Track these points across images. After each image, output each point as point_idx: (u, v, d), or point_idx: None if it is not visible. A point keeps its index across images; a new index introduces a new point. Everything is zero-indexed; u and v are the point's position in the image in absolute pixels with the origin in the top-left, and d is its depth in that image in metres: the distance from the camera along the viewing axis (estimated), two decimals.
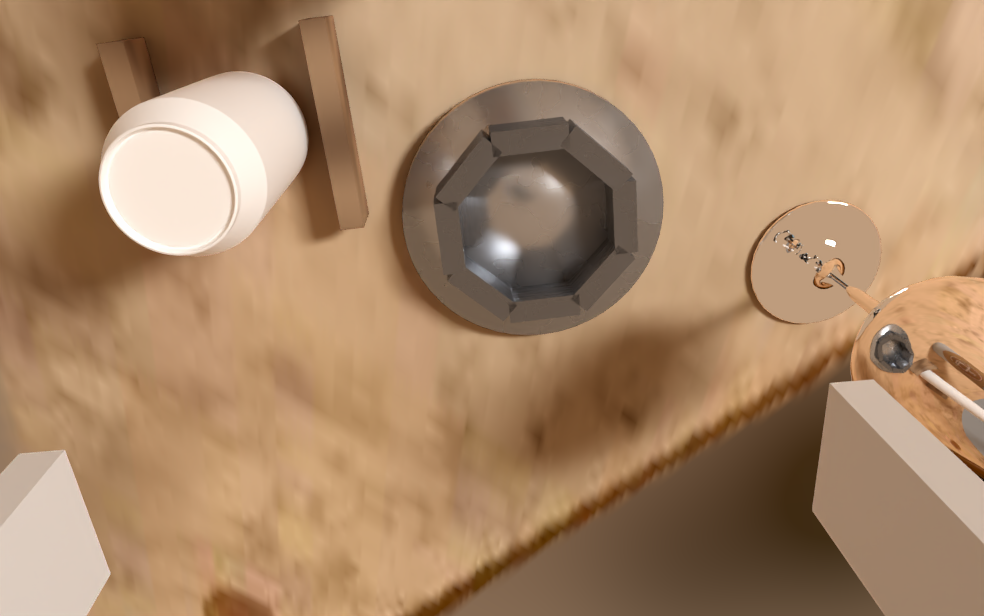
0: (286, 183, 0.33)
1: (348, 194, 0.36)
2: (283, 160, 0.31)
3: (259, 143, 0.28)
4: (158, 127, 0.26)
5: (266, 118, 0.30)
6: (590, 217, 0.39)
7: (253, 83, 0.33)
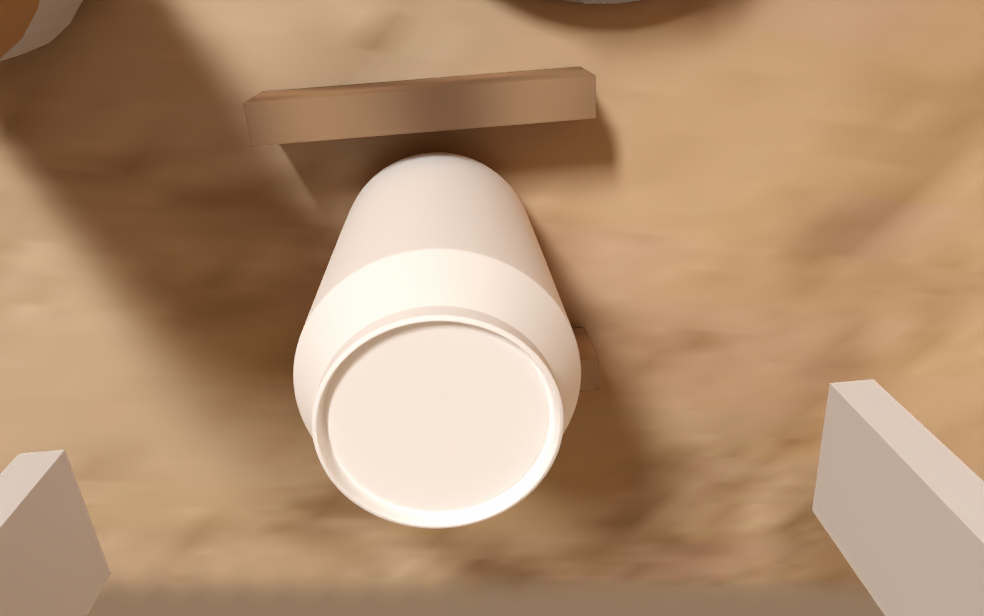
0: (489, 202, 0.19)
1: (533, 96, 0.21)
2: (438, 205, 0.17)
3: (379, 248, 0.15)
4: (322, 425, 0.14)
5: (367, 224, 0.18)
6: None
7: (342, 228, 0.21)
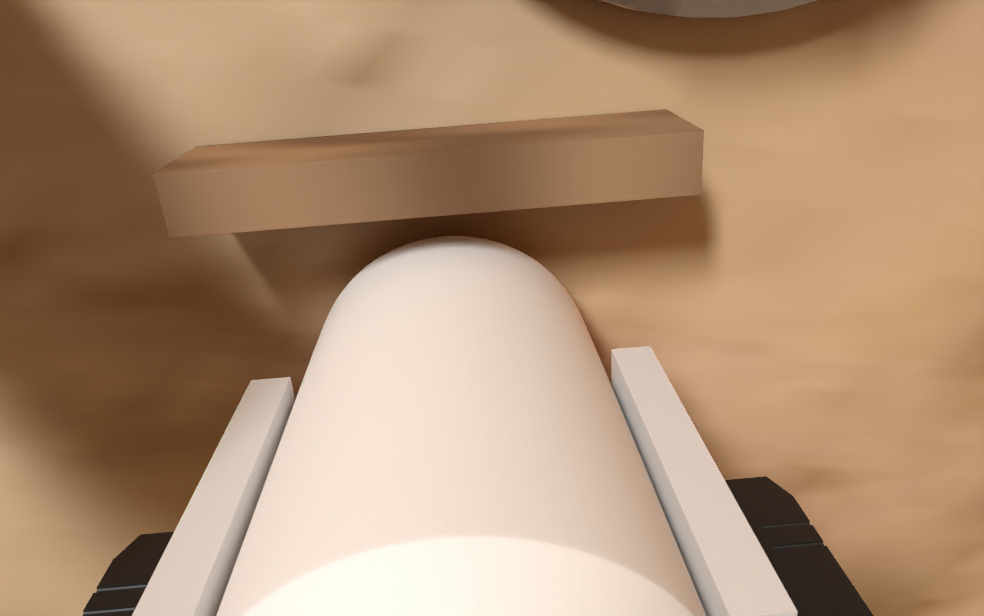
0: (544, 353, 0.11)
1: (605, 162, 0.13)
2: (461, 376, 0.10)
3: (349, 511, 0.08)
4: None
5: (337, 405, 0.10)
6: None
7: (308, 366, 0.14)
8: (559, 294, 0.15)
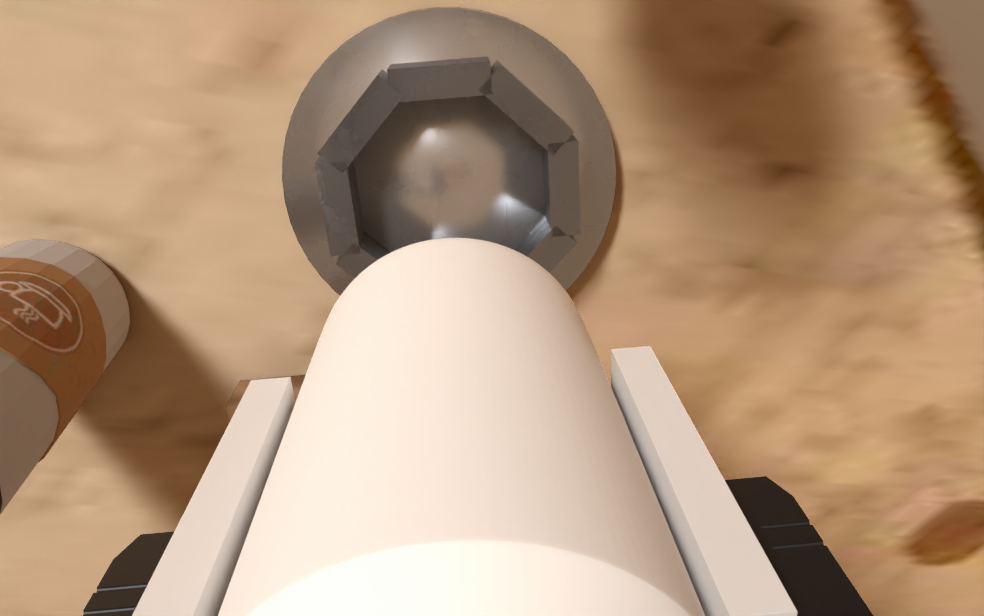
0: (545, 355, 0.11)
1: None
2: (461, 379, 0.10)
3: (350, 515, 0.08)
4: None
5: (337, 407, 0.10)
6: (453, 113, 0.29)
7: (308, 368, 0.14)
8: (559, 296, 0.15)
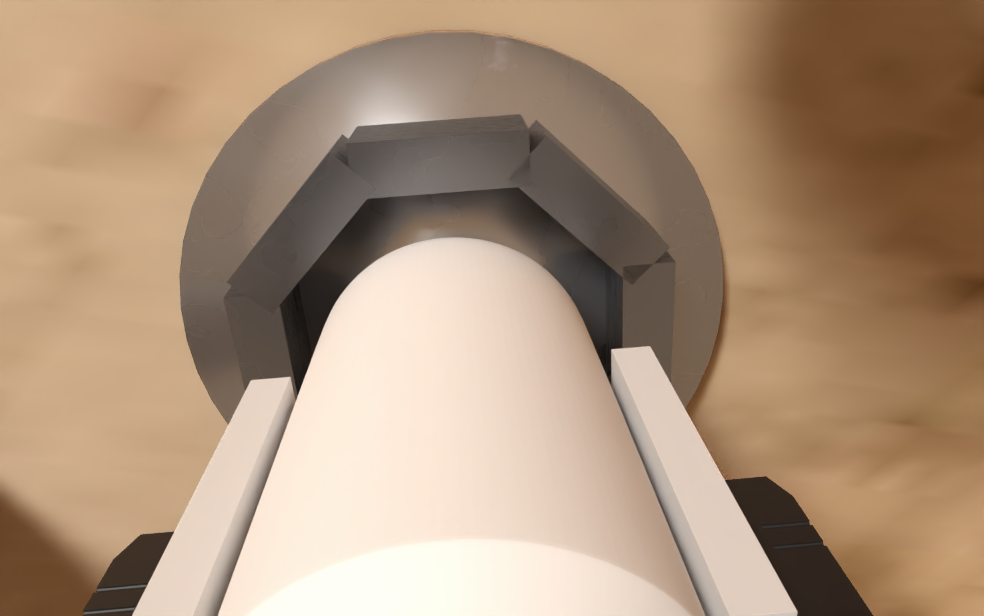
0: (545, 354, 0.11)
1: None
2: (461, 378, 0.10)
3: (349, 515, 0.08)
4: None
5: (337, 406, 0.10)
6: (461, 205, 0.18)
7: (308, 367, 0.14)
8: (559, 295, 0.15)
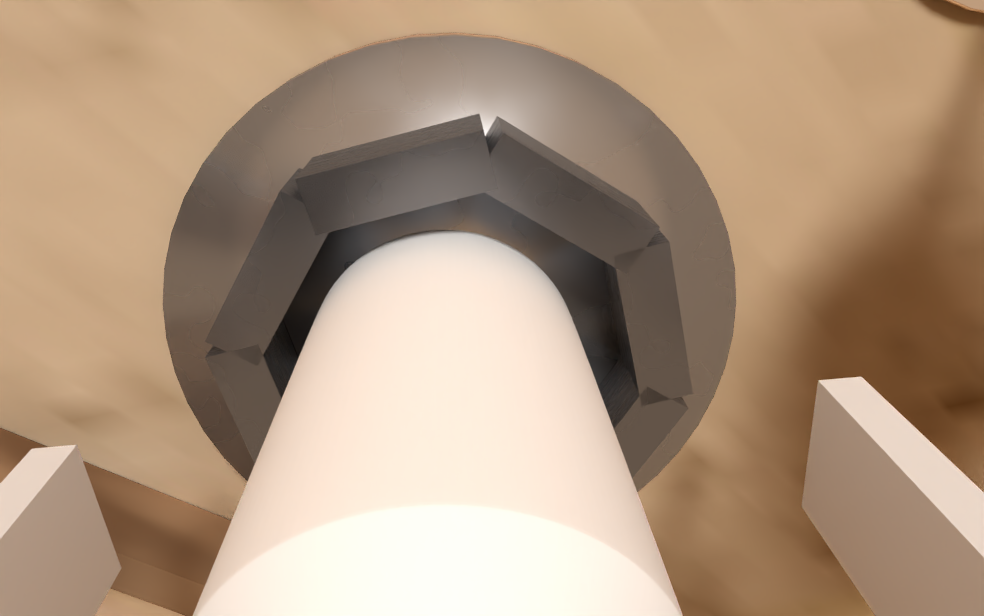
0: (525, 339, 0.12)
1: (185, 591, 0.19)
2: (442, 360, 0.10)
3: (329, 484, 0.08)
4: None
5: (323, 388, 0.11)
6: (533, 243, 0.17)
7: None
8: (544, 286, 0.15)
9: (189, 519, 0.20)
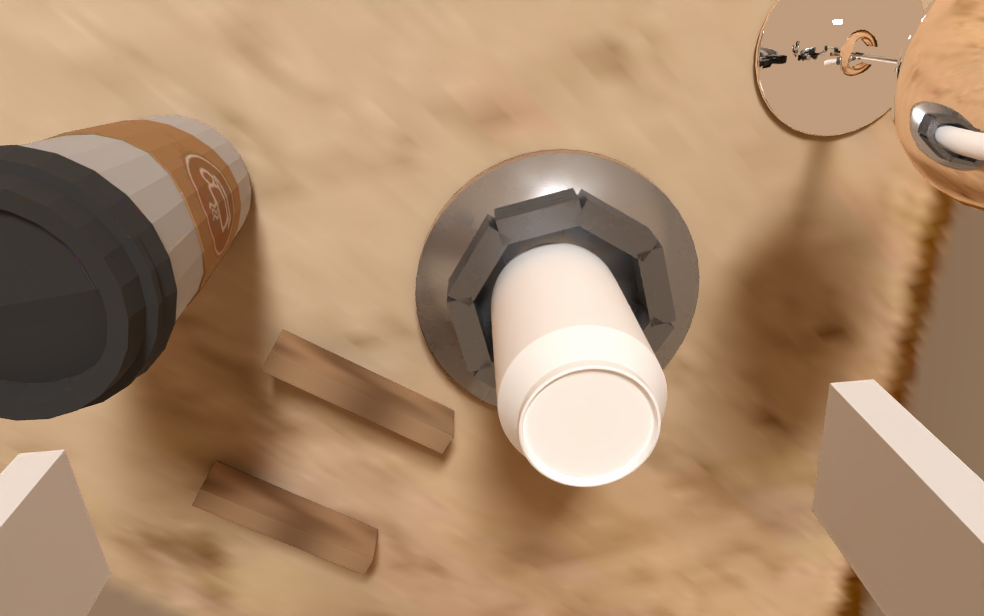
0: (602, 286, 0.29)
1: (418, 428, 0.37)
2: (575, 291, 0.28)
3: (549, 323, 0.26)
4: (523, 426, 0.25)
5: (530, 302, 0.28)
6: (597, 248, 0.35)
7: (499, 298, 0.32)
8: (605, 267, 0.33)
9: (412, 396, 0.38)
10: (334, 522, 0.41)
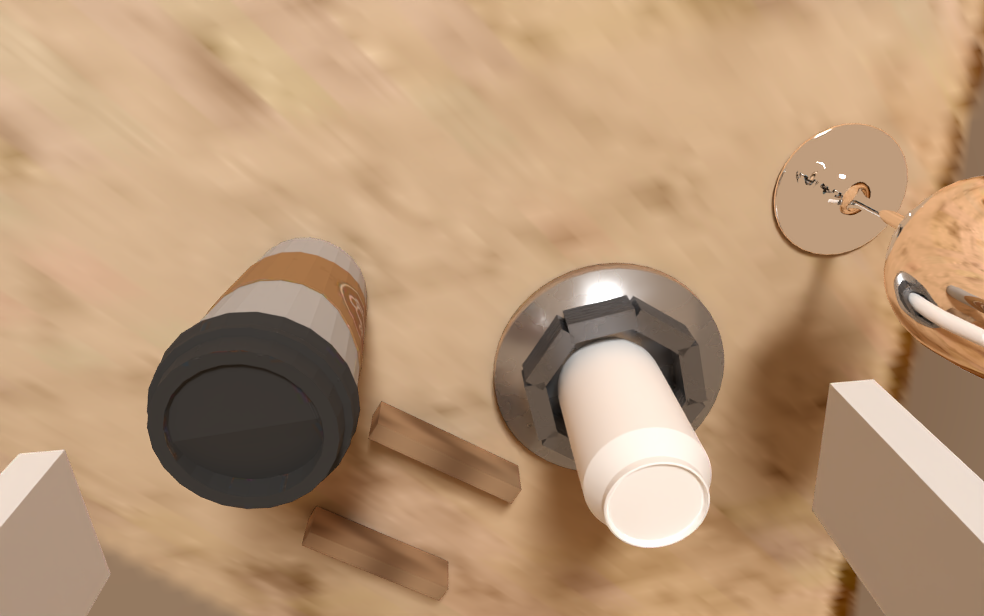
0: (657, 385, 0.38)
1: (493, 483, 0.45)
2: (638, 392, 0.36)
3: (624, 423, 0.34)
4: (606, 503, 0.33)
5: (603, 400, 0.37)
6: (643, 340, 0.43)
7: (570, 387, 0.40)
8: (653, 361, 0.41)
9: (485, 455, 0.46)
10: (414, 556, 0.49)
